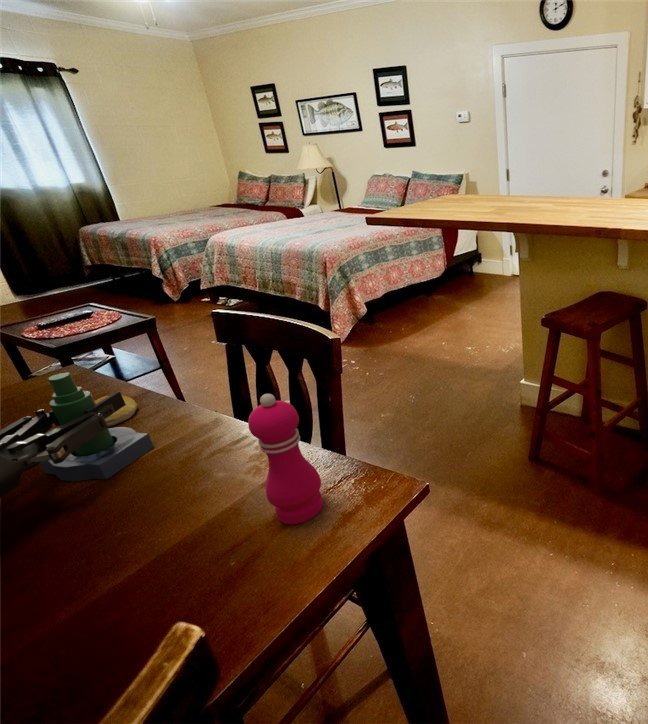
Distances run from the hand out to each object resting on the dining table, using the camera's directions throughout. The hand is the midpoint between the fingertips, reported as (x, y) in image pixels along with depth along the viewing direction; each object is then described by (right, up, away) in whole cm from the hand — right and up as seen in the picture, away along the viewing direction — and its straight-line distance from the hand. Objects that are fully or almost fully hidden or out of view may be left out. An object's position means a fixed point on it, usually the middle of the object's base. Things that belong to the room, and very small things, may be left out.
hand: (103, 398), depth 83 cm
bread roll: (-9, -5, +12) cm, 16 cm away
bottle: (0, -10, -1) cm, 10 cm away
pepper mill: (+41, -16, -12) cm, 45 cm away
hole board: (0, -11, -1) cm, 11 cm away
